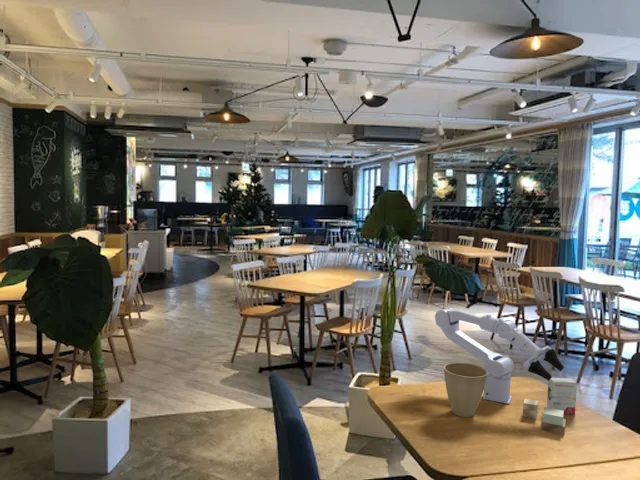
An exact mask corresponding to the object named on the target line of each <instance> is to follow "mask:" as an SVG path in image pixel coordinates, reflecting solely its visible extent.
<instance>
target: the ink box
mask: <svg viewBox="0 0 640 480" xmlns="http://www.w3.org/2000/svg"><path fill="white" fill-rule="evenodd" d="M577 387H578V383H577V382H576V381H575V380H574V379H573V378H567V377H566V378H562V377H552V378H551V379H550V380H549V381H548V380H547V392H546V393H547V396H546V398H547V399H546V407H547V408H552V409H557V410H563V411H564V414H563V415H565V414H566V415H575V414H576V405H577V404H576V402H577Z"/></svg>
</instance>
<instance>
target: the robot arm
mask: <svg viewBox="0 0 640 480" xmlns="http://www.w3.org/2000/svg"><path fill="white" fill-rule="evenodd" d="M434 320H435V325H436V326H438V327H439V328H440V329H441V331H442V333H443V334H444V336H445V337H446V338H447V339H448V340H450V341H451V342H452V343H454V345H456V346H459V347H460V348H461V349H463V350H464V352H465V351H466V352H467V353H468V354H469V355H471V356H473V357H475V358H476V359H477V360H479V361H480V362H482V363H483V368H484V369H485V370H487V372H488V374H487V379H486V383H485V387H484V390H483V393H482V396H483V397H482V399H483V400H488V401H492V402H497V403H502V404H506V405H509V404H510V402H511V401H512V398H513V396H512V395H510V394H511V383H512V381H511V380H512V375H511V372H513V371H514V369H515V364H514V361H513V360H512V358H510V357H508V356H505V355H502V354H500V353H497V352H495V351H494V352H493V351H491V350H489V349H488V348H486V347H485V346H484V345H482V344H481V343H479V342H477V341H476V340H475V339H473V338H472V337H470V336H469V335H467V334H465V333H464V332H463V331H462V330H460V328H459V327H460V321H462V322H466V323H470V324H473V325H477V326H478V327H479V328H480V329H481V330H484V331H487V332H489V333H492V334H495V335H498V337H500V338H501V339H505V340H506V341H507V342H508V343H510V344H511V345H512V346H513V347H514V348H515V349H517V350H518V352H520V353H521V355H523V356H524V357H525V358H526V359H527V360H526V361H524V363H523V364H522V367H524V368H525V369H526V370H527V372H529V373H531V374H535V375H537V376H540V377H541V378H543V379H545V380H547V382H548V381H549V380H550V379H551V378H553V376H552V374H551V373H549V372H548V371H547V370H546V369H545V367H544V366H543V365H542V363H541V362H540V360H541V359H542V358H543V357H544V358H543V361H545V362H547V363H549V364H550V365H551V366H553V367H554V368H556V370H558V371H560V372H561V371H563V369H564V368H565V367H564V365H563V363H561V360H560V359H559V358H558V356H557V354H556V351H555V349H554V348H552V347H550V346H549V345H548V344H547V345H545V346H544V347H539V346H538V345H537V344H535V343H534V342H533V341H532V340H531V339H530V338H529V337H528V336H527V335H525V334H524V333H523V332H522V331H520V330H519V328H518V326H517V324H516V323H515V322H514V321H512V320H510V319H506V320H504V319H503V318H497V317H493V316H492V314H489V313H488V314H485V315H482V316H481V315H480V316H479V315H476V314H474V313H471V312H468V311H465V310H463V309H460V308H457V307H453V306H452V307H448V308H445V309H440V310H438V311H436V313H435V314H434Z"/></svg>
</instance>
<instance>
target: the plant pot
mask: <svg viewBox="0 0 640 480" xmlns="http://www.w3.org/2000/svg"><path fill="white" fill-rule="evenodd" d="M443 371H444V383H445V387H446V388H445V389H446V394H447V398H448V402H449V406H450V408H451V412H452V413H453V414H454V415H456V416H458V417H461V418H462V417H463V418H471V417H473V416H474V415H475V413H476V410H477V408H478V406H479V404H480V402H481V399H482V396H483V394H484V387H485V383H486V379H487V374H489V371H488V370H487V369H486V368H485V367H482V366H479V365H476V364H472V363H466V362H451V363H447V364H445V365H444V366H443Z"/></svg>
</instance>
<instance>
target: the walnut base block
mask: <svg viewBox="0 0 640 480" xmlns="http://www.w3.org/2000/svg"><path fill="white" fill-rule="evenodd" d="M566 422H567V419H566V418H563V426H559V425H555V424H550V423H545V422H543V417H542V418H541V424H540V425H541V427H540V430H541V431H545V432H549V433H554V434H559V435H562V436H563V435H564V436H565V432H566V431H565V430H566V424H567V423H566Z"/></svg>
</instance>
